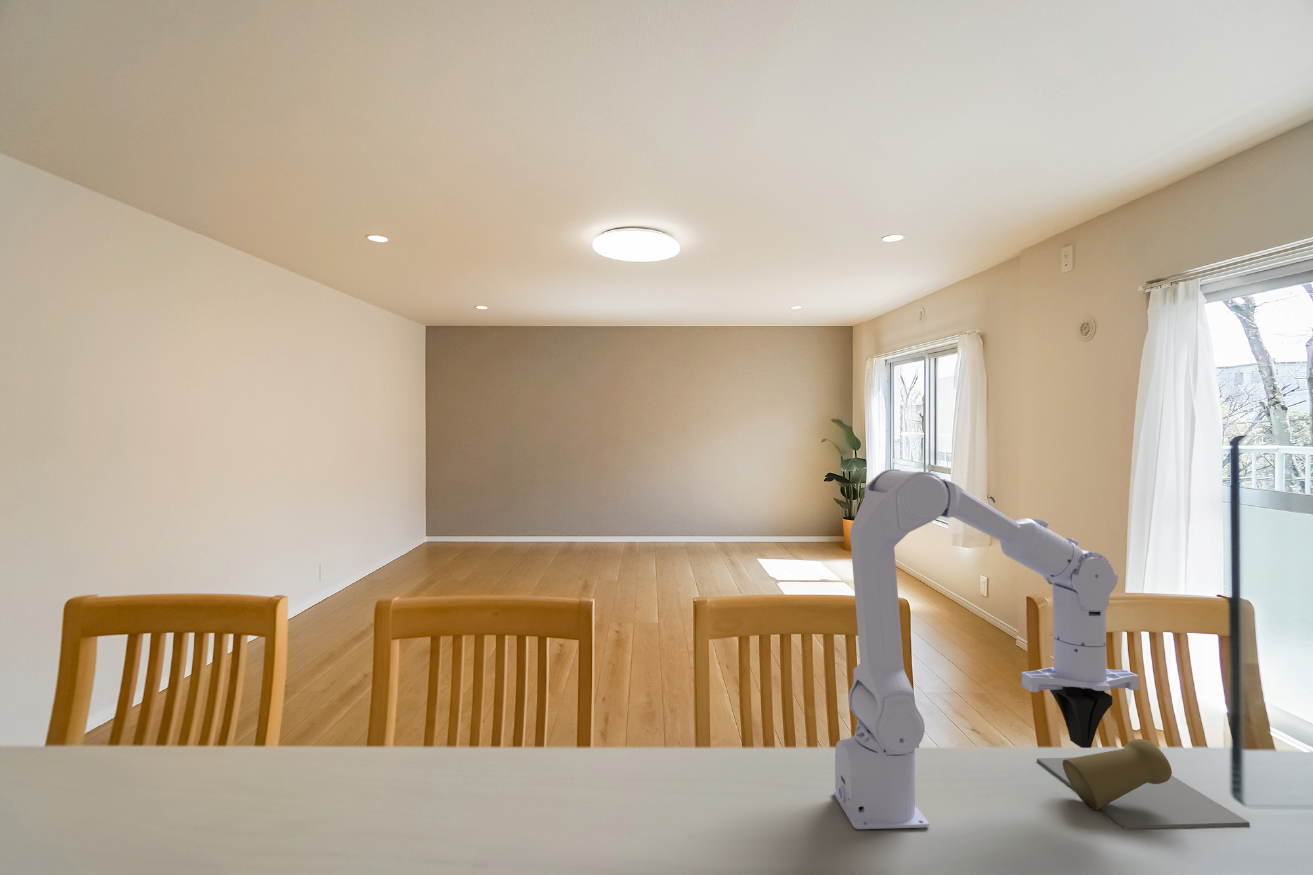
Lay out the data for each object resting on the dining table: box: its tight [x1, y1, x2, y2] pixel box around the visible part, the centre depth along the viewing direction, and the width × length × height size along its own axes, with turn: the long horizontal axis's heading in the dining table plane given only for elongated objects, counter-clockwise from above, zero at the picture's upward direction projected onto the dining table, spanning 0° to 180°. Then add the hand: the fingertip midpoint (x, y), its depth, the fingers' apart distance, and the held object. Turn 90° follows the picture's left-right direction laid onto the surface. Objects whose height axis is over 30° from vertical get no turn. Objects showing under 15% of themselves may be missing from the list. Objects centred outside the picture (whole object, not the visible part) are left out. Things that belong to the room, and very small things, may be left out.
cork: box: [1062, 738, 1173, 811], centre depth 78 cm, size 6×6×11 cm
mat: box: [1036, 757, 1251, 830], centre depth 82 cm, size 16×16×1 cm
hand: (1080, 744), depth 78 cm, fingers closed
